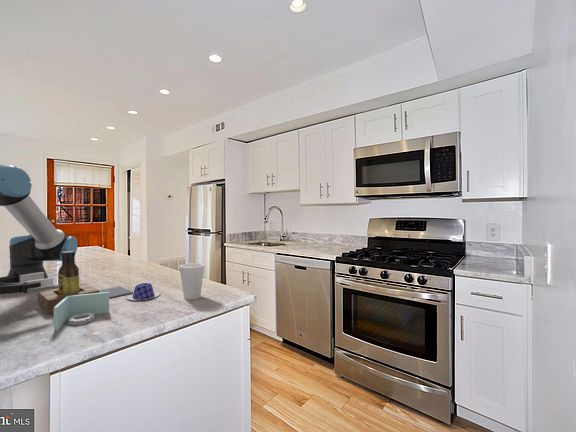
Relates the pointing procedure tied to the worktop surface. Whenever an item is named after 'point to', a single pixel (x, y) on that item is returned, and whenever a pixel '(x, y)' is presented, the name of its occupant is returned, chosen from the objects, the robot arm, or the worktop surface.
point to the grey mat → (116, 291)
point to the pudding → (143, 292)
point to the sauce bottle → (68, 274)
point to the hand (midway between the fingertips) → (48, 278)
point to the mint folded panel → (80, 309)
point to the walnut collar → (60, 297)
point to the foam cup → (192, 280)
